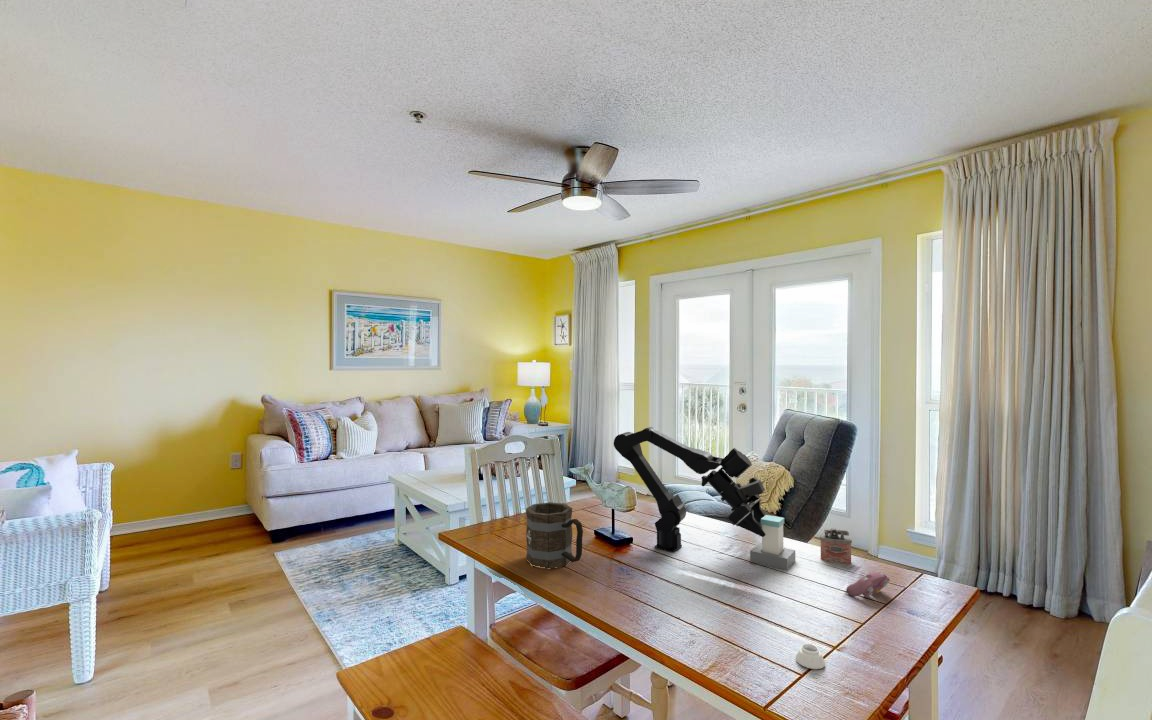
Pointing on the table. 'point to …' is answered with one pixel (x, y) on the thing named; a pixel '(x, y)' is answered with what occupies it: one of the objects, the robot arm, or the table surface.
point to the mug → (551, 535)
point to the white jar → (810, 657)
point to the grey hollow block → (773, 557)
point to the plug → (772, 534)
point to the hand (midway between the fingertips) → (766, 531)
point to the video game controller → (868, 584)
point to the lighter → (836, 546)
